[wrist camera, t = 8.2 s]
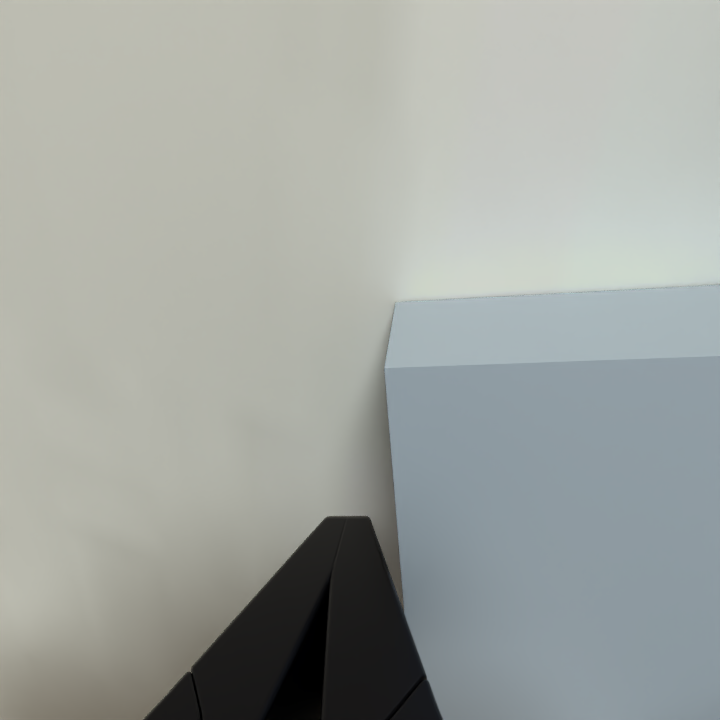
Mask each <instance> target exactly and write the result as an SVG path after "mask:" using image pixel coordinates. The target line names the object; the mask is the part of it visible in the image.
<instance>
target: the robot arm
mask: <svg viewBox="0 0 720 720" xmlns="http://www.w3.org/2000/svg"><path fill="white" fill-rule="evenodd" d="M191 672H192V673H191ZM191 672H187V673H186V674H185V675H184V676H183V677H182V678H181V679H180V680H179V682H178V683H177V684H176V685H175V686H174V687H173V688H172V689H171V690H170V692H169V693H168V694H167V695H166V696H165V697H164V698H163V699H162V700H161V701H160V702H159V703H158V704H157V705H156V707H155V708H154V709H153V710H152V711H151V712H150V713H149V714H148V715H147V716H146V717H145V718H144V719H143V720H443V718H442V715H441V713H440V710H439V708H438V705H437V702H436V700H435V697H434V694H433V691H432V688H431V686H430V683H429V681H428V680H427V675H426V673H425V670H424V667H423V664H422V661H421V659H420V656H419V653H418V650H417V648H416V645H415V642H414V639H413V636H412V634H411V631H410V628H409V625H408V622H407V620H406V617H405V614H404V611H403V609H402V606H401V603H400V600H399V597H398V595H397V592H396V589H395V586H394V584H393V581H392V578H391V575H390V572H389V570H388V567H387V564H386V561H385V559H384V556H383V553H382V550H381V547H380V545H379V542H378V539H377V536H376V533H375V531H374V528H373V525H372V522H371V520H370V518H369V517H368V516H329V517H326V518H325V519H324V520H323V521H322V522H321V523H320V524H319V525H318V527H317V528H316V529H315V530H314V531H313V532H312V533H311V534H310V535H309V537H308V538H307V539H306V540H305V541H304V542H303V543H302V544H301V545H300V547H299V548H298V549H297V550H296V551H295V552H294V553H293V554H292V556H291V557H290V558H289V559H288V560H287V561H286V562H285V563H284V564H283V566H282V567H281V568H280V569H279V570H278V571H277V572H276V573H275V575H274V576H273V577H272V578H271V579H270V580H269V581H268V582H267V583H266V585H265V586H264V587H263V588H262V589H261V590H260V591H259V592H258V594H257V595H256V596H255V597H254V598H253V599H252V600H251V601H250V602H249V604H248V605H247V606H246V607H245V608H244V609H243V610H242V611H241V613H240V614H239V615H238V616H237V617H236V618H235V619H234V620H233V621H232V623H231V624H230V625H229V626H228V627H227V628H226V629H225V630H224V632H223V633H222V634H221V635H220V636H219V637H218V638H217V639H216V640H215V642H214V643H213V644H212V645H211V646H210V647H209V648H208V649H207V651H206V652H205V653H204V654H203V655H202V656H201V657H200V658H199V659H198V661H197V662H196V663H195V664H194V665H193V666H192V668H191Z"/></svg>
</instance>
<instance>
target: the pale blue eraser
mask: <svg viewBox="0 0 720 720" xmlns="http://www.w3.org/2000/svg"><path fill="white" fill-rule="evenodd" d="M384 371H385V383H386V395H387V407H388V420H389V432H390V444H391V456H392V468H393V481H394V493H395V505H396V517H397V529H398V541H399V554H400V566H401V578H402V590H403V602H404V614H405V617H406V620H407V622H408V625H409V628H410V631H411V634H412V636H413V639H414V642H415V645H416V648H417V650H418V653H419V656H420V659H421V661H422V664H423V667H424V670H425V673H426V675H427V680H428V681H429V683H430V686H431V688H432V691H433V694H434V697H435V700H436V702H437V705H438V708H439V710H440V713H441V715H442V718H443V720H720V285H707V286H688V287H670V288H651V289H632V290H614V291H595V292H576V293H558V294H539V295H520V296H502V297H483V298H464V299H446V300H427V301H408V302H396V303H395V309H394V315H393V320H392V326H391V332H390V338H389V344H388V349H387V355H386V361H385V367H384Z"/></svg>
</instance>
